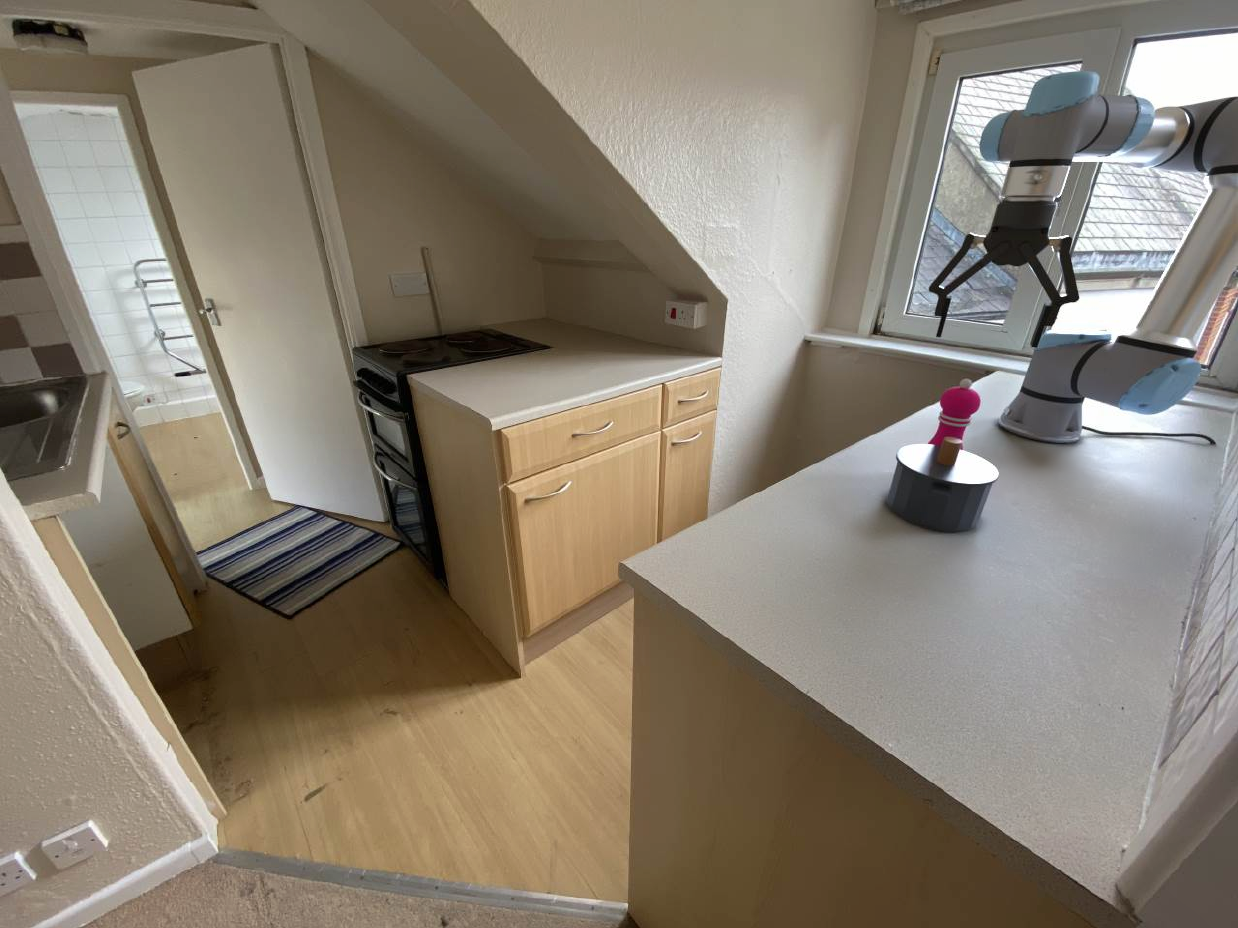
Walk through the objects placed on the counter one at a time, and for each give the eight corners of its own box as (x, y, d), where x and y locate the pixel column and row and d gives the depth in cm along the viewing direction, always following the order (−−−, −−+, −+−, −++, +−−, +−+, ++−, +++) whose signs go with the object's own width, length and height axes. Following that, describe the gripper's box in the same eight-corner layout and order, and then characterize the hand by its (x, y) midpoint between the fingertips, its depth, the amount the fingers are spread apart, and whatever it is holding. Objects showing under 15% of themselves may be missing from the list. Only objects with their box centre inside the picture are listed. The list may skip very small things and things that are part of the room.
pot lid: (995, 462, 89) (1005, 434, 87) (998, 500, 78) (1010, 468, 75) (899, 443, 96) (907, 416, 93) (889, 475, 84) (897, 445, 82)
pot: (976, 497, 94) (992, 454, 91) (977, 550, 80) (995, 502, 76) (893, 478, 101) (904, 437, 97) (879, 524, 86) (892, 478, 82)
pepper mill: (962, 493, 96) (999, 387, 87) (919, 488, 97) (951, 383, 88) (948, 474, 102) (981, 374, 93) (908, 471, 103) (937, 371, 94)
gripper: (933, 200, 82) (900, 336, 92) (1143, 200, 71) (1081, 355, 80) (935, 199, 88) (904, 328, 98) (1130, 200, 77) (1073, 345, 86)
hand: (984, 340), depth 89 cm, fingers open, 13 cm apart
